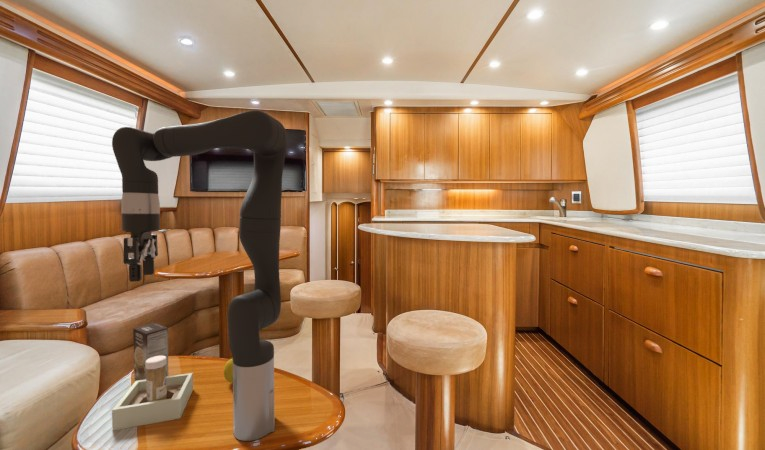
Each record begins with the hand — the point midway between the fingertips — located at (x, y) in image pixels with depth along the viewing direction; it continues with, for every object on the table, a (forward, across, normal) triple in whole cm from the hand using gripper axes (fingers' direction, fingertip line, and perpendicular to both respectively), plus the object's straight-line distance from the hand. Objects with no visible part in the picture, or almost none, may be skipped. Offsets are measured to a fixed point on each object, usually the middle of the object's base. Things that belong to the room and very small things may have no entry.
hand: (142, 277), depth 78 cm
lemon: (+36, +12, -19) cm, 43 cm away
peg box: (+36, +5, -1) cm, 36 cm away
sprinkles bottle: (+36, +5, -1) cm, 37 cm away
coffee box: (+36, +24, +6) cm, 44 cm away
